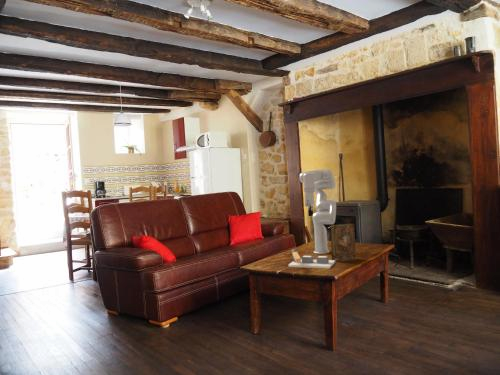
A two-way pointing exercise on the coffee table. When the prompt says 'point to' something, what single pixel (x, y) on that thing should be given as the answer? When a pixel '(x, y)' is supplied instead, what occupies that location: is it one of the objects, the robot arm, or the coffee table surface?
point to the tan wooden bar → (296, 256)
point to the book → (343, 242)
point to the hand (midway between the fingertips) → (310, 215)
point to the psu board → (313, 262)
